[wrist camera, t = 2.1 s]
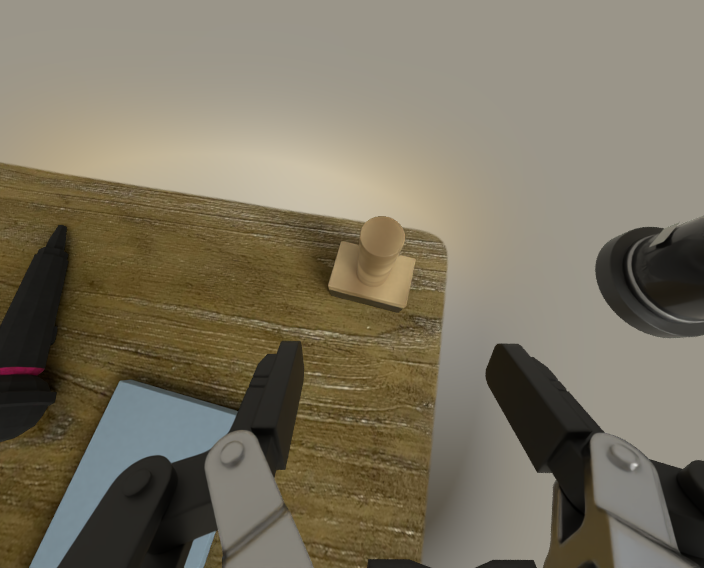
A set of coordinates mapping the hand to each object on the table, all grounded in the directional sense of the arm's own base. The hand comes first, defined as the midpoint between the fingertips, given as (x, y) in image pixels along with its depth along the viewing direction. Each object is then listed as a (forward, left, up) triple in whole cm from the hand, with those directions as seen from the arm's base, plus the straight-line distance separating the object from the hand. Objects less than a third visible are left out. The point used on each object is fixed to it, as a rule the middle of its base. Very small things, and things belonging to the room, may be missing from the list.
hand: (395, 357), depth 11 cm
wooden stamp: (+2, -7, -14) cm, 16 cm away
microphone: (+30, +5, -14) cm, 33 cm away
